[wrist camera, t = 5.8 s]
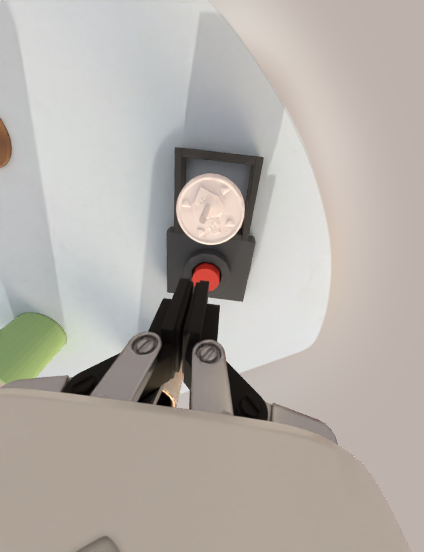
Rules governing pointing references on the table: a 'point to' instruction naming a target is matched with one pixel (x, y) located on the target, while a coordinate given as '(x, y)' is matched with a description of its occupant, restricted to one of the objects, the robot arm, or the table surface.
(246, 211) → the frame
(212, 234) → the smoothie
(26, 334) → the mug
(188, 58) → the table surface
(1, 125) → the coaster
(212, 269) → the stop button
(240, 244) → the button base
